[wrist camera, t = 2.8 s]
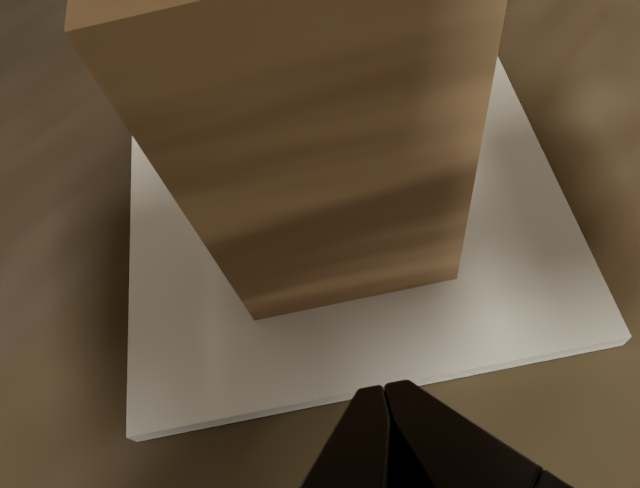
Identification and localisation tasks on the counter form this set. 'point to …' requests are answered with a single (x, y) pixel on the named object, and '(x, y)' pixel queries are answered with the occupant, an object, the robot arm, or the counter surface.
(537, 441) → the counter surface
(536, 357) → the grey mat
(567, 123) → the counter surface
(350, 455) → the robot arm
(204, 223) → the oak block
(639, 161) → the counter surface
